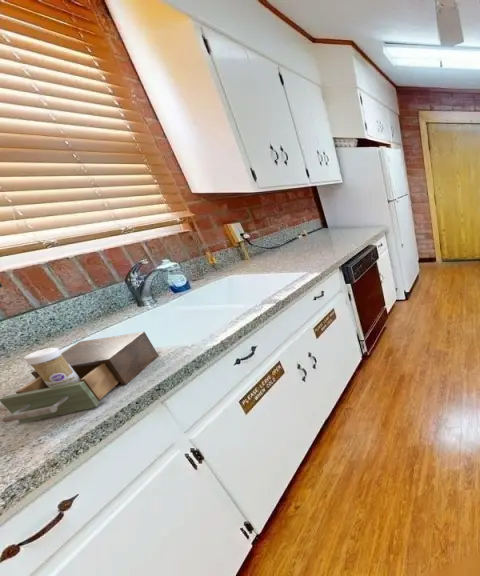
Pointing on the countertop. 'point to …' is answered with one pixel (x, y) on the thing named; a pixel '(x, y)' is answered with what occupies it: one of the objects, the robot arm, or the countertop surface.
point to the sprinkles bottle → (52, 367)
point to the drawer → (60, 395)
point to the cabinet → (113, 355)
